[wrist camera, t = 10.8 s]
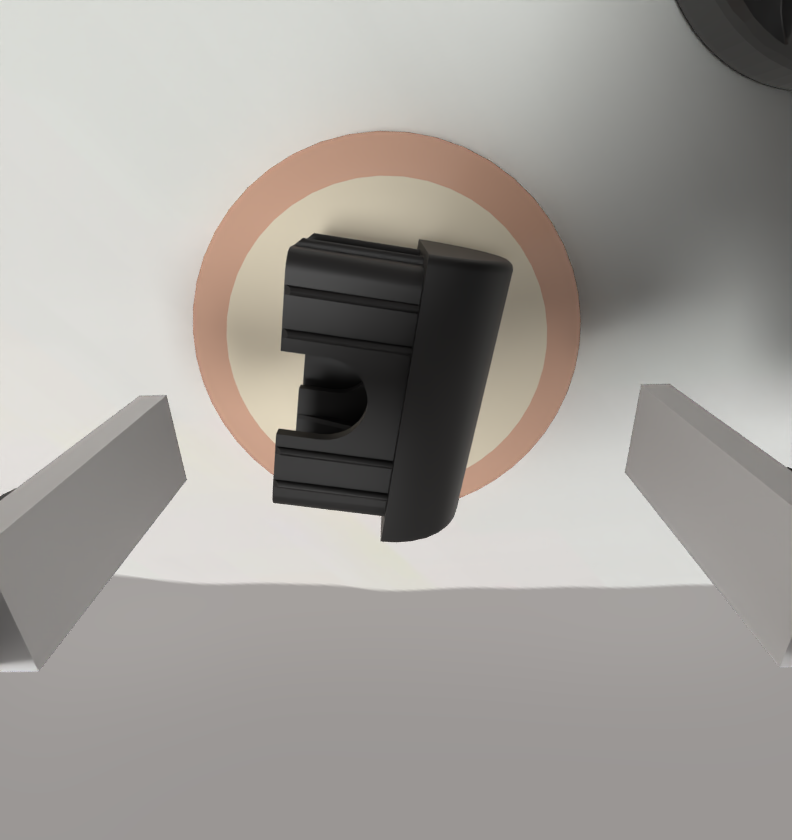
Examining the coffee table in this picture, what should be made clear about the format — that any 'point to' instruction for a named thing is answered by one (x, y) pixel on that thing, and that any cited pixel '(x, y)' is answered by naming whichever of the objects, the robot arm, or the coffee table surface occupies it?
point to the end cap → (386, 376)
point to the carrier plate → (400, 226)
